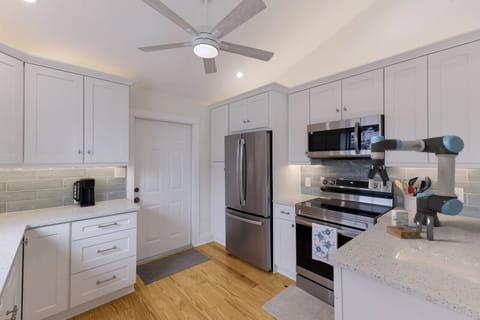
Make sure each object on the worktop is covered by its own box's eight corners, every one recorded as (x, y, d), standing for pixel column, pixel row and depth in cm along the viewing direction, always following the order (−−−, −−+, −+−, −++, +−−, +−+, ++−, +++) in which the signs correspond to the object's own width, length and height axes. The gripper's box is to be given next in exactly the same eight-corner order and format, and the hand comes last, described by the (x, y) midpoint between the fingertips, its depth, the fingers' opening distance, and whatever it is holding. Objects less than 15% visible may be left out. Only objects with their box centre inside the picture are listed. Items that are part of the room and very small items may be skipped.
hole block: (404, 231, 138) (404, 225, 138) (420, 238, 126) (420, 232, 126) (386, 231, 138) (386, 225, 138) (401, 238, 126) (401, 232, 126)
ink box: (403, 226, 151) (403, 210, 151) (408, 228, 146) (408, 211, 146) (391, 225, 151) (391, 209, 151) (395, 228, 146) (395, 211, 146)
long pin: (430, 238, 126) (430, 215, 126) (434, 240, 123) (434, 217, 123) (425, 238, 126) (425, 215, 126) (429, 240, 123) (429, 217, 123)
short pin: (419, 231, 140) (419, 220, 140) (423, 232, 137) (423, 222, 137) (414, 231, 140) (414, 220, 140) (418, 232, 137) (418, 222, 137)
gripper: (361, 158, 154) (361, 187, 154) (383, 158, 129) (383, 192, 129) (372, 158, 154) (372, 187, 154) (395, 158, 129) (396, 192, 129)
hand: (377, 189), depth 142 cm, fingers open, 13 cm apart
